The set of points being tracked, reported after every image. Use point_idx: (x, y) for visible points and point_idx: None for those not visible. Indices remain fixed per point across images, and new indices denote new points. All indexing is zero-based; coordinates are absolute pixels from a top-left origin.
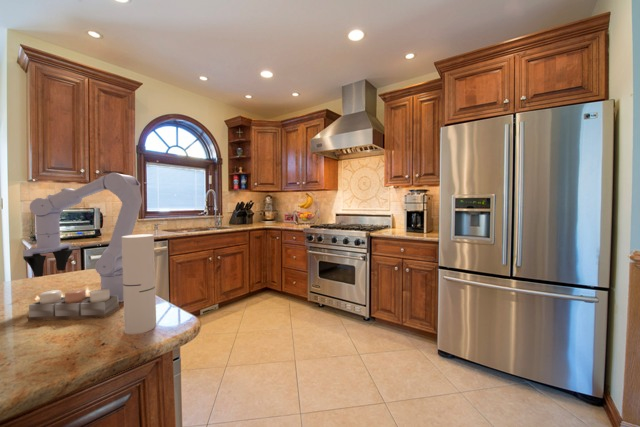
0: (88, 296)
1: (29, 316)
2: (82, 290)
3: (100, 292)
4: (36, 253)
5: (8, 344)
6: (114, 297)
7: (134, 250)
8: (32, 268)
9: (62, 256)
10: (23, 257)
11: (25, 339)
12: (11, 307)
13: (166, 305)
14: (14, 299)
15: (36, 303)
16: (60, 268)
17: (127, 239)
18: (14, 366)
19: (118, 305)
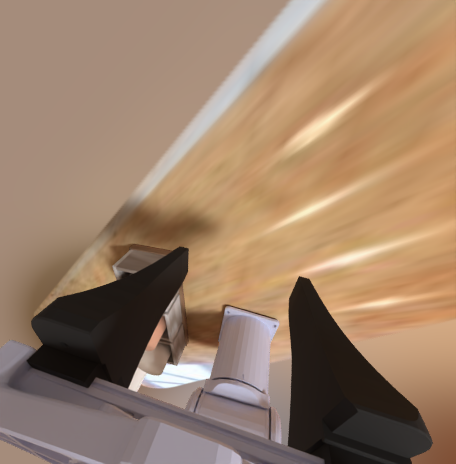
0: (170, 334)
1: (129, 250)
2: (148, 347)
3: (142, 368)
4: (77, 391)
5: (72, 270)
6: (167, 362)
7: None
8: (149, 270)
9: (298, 387)
10: (43, 310)
11: (86, 280)
12: (212, 120)
13: (201, 377)
14: (331, 6)
15: (127, 270)
16: (294, 298)
17: None
18: (52, 300)
19: (184, 347)
